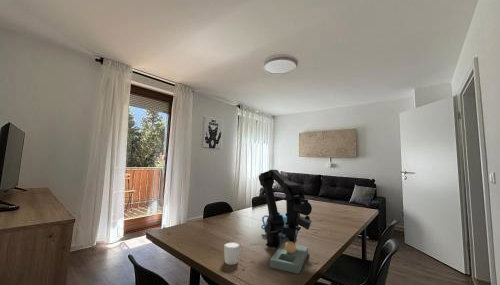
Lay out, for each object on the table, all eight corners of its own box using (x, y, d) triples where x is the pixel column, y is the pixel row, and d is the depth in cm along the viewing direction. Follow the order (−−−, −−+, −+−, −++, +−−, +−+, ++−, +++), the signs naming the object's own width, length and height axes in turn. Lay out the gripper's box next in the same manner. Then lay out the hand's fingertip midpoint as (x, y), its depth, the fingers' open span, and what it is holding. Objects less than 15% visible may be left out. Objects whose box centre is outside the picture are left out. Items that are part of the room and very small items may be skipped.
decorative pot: (279, 229, 141) (279, 208, 143) (296, 236, 128) (296, 213, 129) (259, 233, 132) (259, 210, 134) (275, 241, 119) (275, 215, 120)
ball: (284, 254, 96) (283, 246, 94) (286, 245, 100) (285, 237, 98) (295, 257, 94) (294, 249, 92) (297, 247, 98) (296, 240, 96)
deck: (269, 267, 88) (269, 259, 88) (283, 248, 108) (283, 242, 108) (298, 273, 83) (298, 265, 83) (307, 253, 103) (308, 246, 103)
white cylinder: (239, 258, 96) (239, 242, 96) (239, 265, 89) (239, 247, 90) (224, 258, 95) (224, 241, 96) (222, 265, 89) (223, 247, 89)
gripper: (306, 217, 90) (307, 255, 88) (312, 208, 107) (313, 240, 105) (281, 214, 94) (281, 251, 93) (290, 206, 111) (291, 237, 110)
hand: (293, 244), depth 100 cm, fingers open, 4 cm apart
